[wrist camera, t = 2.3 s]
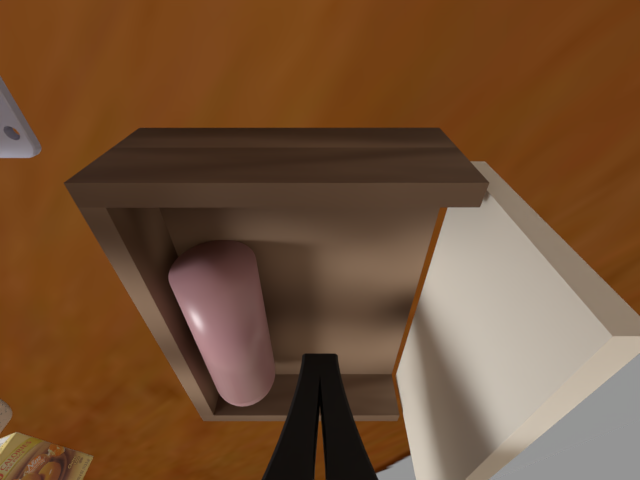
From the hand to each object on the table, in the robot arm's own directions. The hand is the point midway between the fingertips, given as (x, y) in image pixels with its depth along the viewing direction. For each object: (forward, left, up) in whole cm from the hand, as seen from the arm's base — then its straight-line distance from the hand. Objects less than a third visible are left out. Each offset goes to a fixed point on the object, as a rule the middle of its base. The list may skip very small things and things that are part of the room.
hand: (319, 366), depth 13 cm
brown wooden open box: (0, -1, -5) cm, 6 cm away
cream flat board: (0, +5, -3) cm, 6 cm away
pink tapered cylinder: (0, -4, -3) cm, 5 cm away
